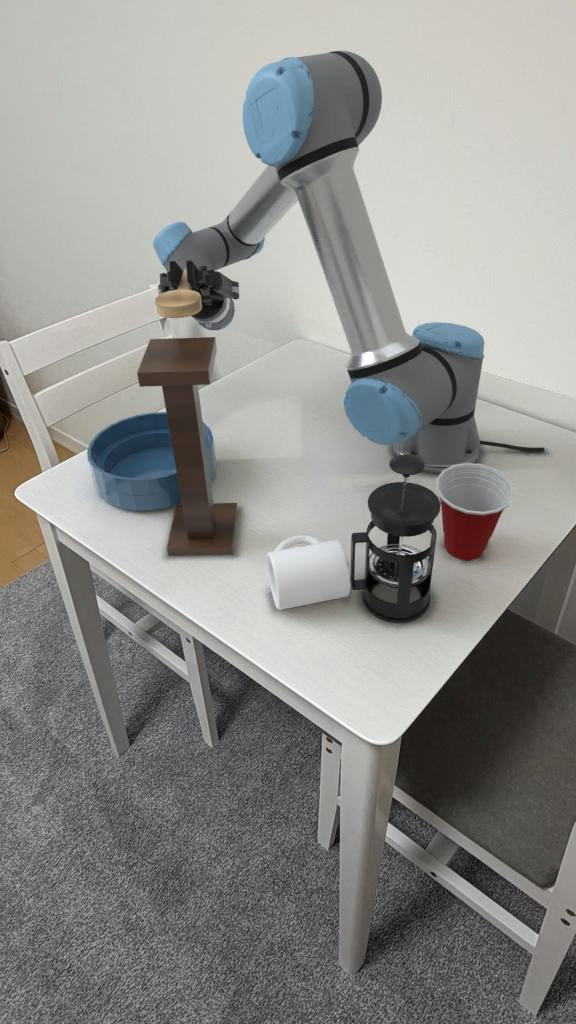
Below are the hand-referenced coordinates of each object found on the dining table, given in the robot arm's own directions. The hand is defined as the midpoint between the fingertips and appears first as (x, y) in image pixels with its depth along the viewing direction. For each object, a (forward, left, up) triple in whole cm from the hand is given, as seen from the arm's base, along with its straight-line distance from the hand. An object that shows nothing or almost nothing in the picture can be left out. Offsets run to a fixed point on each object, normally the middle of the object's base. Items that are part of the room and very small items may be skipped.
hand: (181, 271), depth 93 cm
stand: (0, +10, -38) cm, 39 cm away
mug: (-16, +23, -38) cm, 47 cm away
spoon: (0, 0, -3) cm, 3 cm away
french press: (-28, +26, -38) cm, 54 cm away
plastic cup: (-40, +16, -38) cm, 57 cm away
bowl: (+10, -5, -38) cm, 39 cm away
